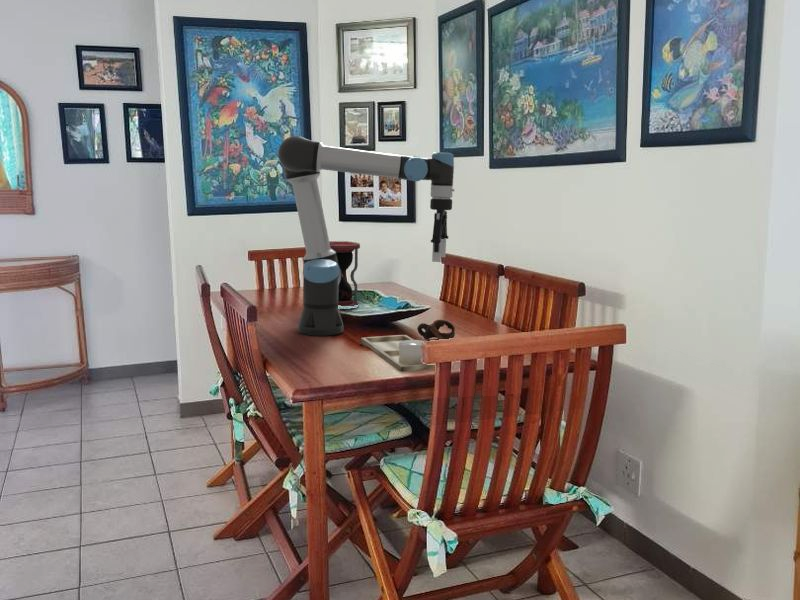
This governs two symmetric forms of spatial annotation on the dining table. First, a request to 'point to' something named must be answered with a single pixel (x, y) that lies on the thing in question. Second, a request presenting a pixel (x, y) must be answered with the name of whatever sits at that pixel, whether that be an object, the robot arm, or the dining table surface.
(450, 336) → the dark brown looped part
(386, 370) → the dining table surface
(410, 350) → the grey short cylinder
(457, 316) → the dining table surface
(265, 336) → the dining table surface
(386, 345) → the tray
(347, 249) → the hourglass
